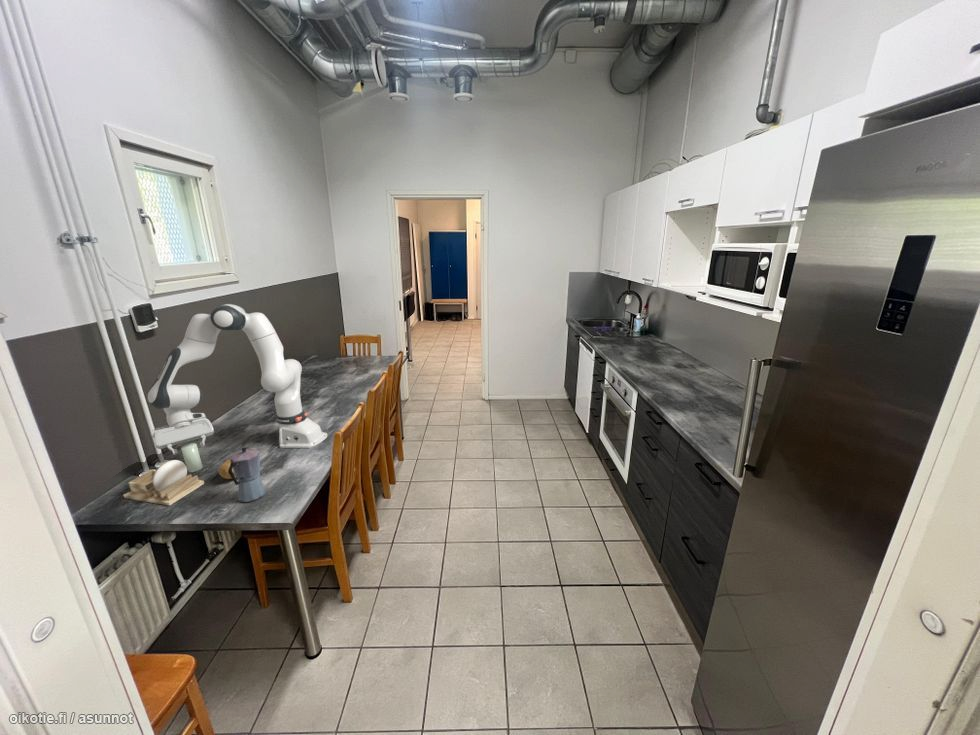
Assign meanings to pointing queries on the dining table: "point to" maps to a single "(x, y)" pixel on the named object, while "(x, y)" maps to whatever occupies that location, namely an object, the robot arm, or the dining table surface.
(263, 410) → the dining table surface
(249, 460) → the moka pot
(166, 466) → the rack
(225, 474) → the potato
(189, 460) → the pale green glossy part
